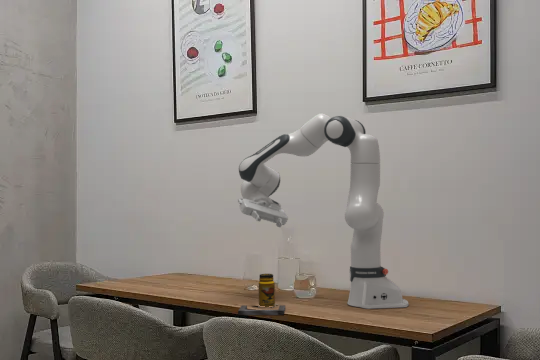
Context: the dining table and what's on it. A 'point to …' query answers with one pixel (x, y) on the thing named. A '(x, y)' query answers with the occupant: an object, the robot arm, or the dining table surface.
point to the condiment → (266, 290)
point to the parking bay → (261, 311)
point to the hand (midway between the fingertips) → (269, 222)
